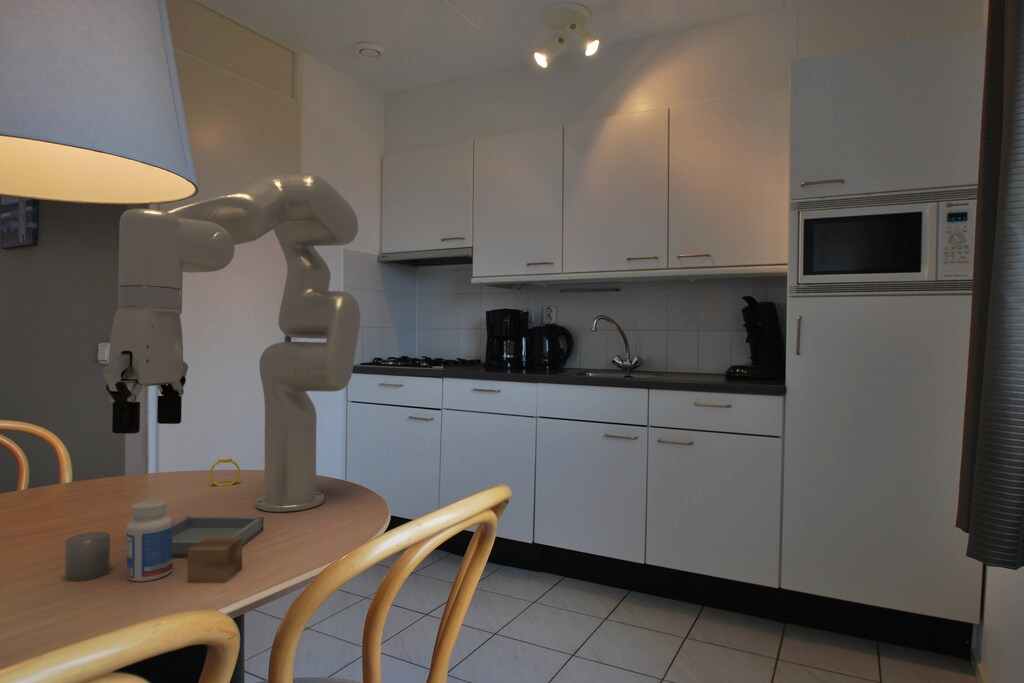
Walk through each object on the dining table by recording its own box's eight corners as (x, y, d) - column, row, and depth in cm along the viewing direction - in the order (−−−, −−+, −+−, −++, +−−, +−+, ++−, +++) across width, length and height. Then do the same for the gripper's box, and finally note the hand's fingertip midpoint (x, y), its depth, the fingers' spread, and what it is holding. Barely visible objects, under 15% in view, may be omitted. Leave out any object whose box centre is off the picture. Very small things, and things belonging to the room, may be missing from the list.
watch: (238, 483, 137) (241, 457, 137) (238, 486, 134) (241, 459, 134) (209, 484, 134) (211, 457, 135) (208, 487, 132) (210, 459, 132)
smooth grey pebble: (82, 567, 86) (82, 531, 86) (117, 567, 86) (118, 532, 86) (55, 581, 81) (56, 543, 81) (93, 581, 81) (93, 544, 81)
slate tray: (186, 529, 103) (186, 516, 103) (263, 530, 103) (263, 517, 103) (138, 557, 90) (139, 542, 90) (227, 557, 90) (227, 543, 90)
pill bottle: (180, 567, 86) (180, 498, 86) (159, 582, 81) (160, 508, 81) (140, 567, 86) (141, 498, 86) (117, 582, 81) (117, 508, 81)
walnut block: (206, 569, 86) (206, 537, 86) (242, 569, 86) (242, 537, 86) (187, 583, 81) (187, 549, 81) (225, 583, 81) (225, 549, 81)
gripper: (160, 306, 92) (158, 420, 92) (78, 296, 74) (75, 437, 74) (210, 306, 92) (208, 420, 92) (139, 297, 74) (137, 437, 74)
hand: (148, 428), depth 83 cm, fingers open, 9 cm apart
